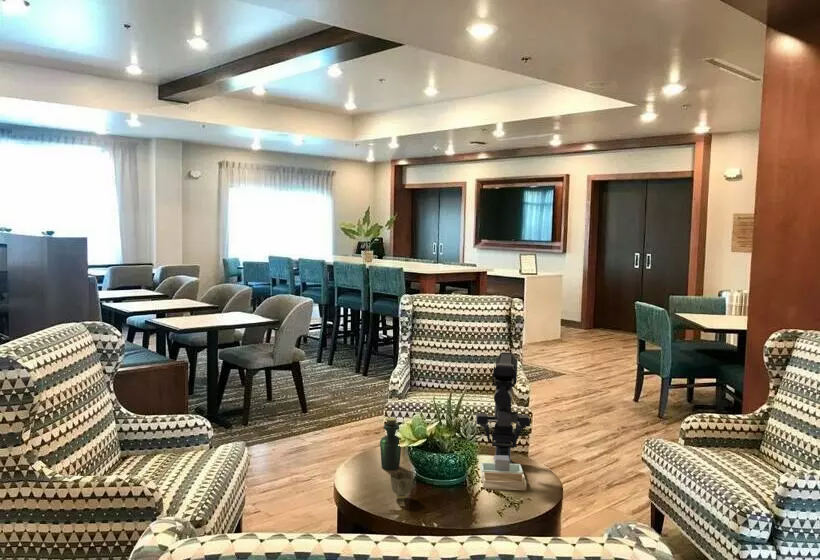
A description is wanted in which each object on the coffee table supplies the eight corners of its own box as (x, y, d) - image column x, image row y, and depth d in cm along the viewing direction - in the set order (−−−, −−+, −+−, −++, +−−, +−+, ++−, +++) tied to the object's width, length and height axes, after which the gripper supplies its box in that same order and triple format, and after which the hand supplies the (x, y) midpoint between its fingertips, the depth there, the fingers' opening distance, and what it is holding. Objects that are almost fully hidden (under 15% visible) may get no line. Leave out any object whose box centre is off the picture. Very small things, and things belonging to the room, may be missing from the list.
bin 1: (480, 471, 230) (480, 462, 230) (519, 473, 229) (520, 464, 229) (481, 480, 222) (482, 470, 222) (522, 482, 221) (523, 472, 221)
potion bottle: (400, 463, 238) (401, 415, 237) (402, 470, 229) (403, 421, 228) (378, 463, 236) (379, 416, 235) (380, 471, 228) (381, 422, 227)
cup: (401, 492, 210) (402, 468, 209) (417, 498, 205) (418, 474, 204) (385, 498, 205) (385, 473, 204) (400, 505, 199) (401, 480, 199)
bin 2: (482, 481, 221) (482, 471, 220) (523, 483, 220) (523, 473, 220) (483, 491, 212) (483, 480, 212) (526, 493, 211) (526, 482, 211)
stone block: (493, 471, 228) (494, 455, 228) (507, 472, 228) (508, 455, 228) (494, 476, 223) (495, 459, 223) (509, 477, 223) (509, 460, 223)
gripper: (478, 404, 217) (476, 449, 218) (533, 406, 216) (531, 451, 217) (476, 396, 229) (475, 439, 230) (528, 398, 228) (527, 441, 229)
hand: (502, 443), depth 226 cm, fingers open, 9 cm apart
